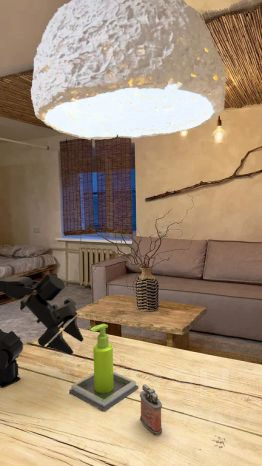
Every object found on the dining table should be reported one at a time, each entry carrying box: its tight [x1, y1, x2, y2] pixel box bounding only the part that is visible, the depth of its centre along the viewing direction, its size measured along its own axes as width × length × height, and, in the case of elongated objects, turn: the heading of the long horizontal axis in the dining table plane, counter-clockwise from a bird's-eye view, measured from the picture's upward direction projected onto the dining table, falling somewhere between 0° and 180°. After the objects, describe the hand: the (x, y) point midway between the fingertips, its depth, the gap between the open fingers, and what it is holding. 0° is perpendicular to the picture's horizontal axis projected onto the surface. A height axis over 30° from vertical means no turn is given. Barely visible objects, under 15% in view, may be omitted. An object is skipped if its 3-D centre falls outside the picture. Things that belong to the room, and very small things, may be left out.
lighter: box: [139, 383, 163, 436], centre depth 89 cm, size 8×3×10 cm, turn 30°
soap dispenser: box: [89, 323, 114, 393], centre depth 105 cm, size 6×7×20 cm
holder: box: [69, 371, 139, 413], centre depth 106 cm, size 15×15×2 cm
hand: (77, 346), depth 106 cm, fingers open, 9 cm apart
